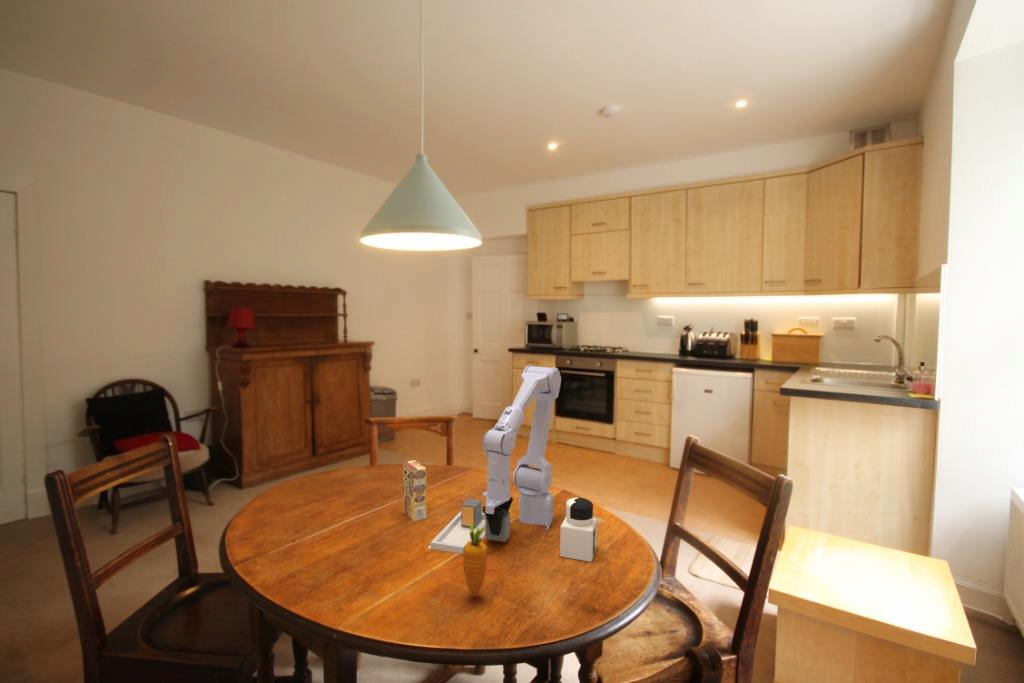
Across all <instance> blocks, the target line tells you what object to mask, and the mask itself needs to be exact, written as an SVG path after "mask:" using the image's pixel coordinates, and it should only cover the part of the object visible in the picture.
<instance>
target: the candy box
mask: <svg viewBox="0 0 1024 683" xmlns="http://www.w3.org/2000/svg"><path fill="white" fill-rule="evenodd" d="M401 464H402V513H403V514H404V516H406V515H407V516H408V517H409V519H410V520H412V521H413V522H416V521H420V520H424V519H427V468H426V467H425V466H424V465H422V464H421V463H419V462H418V461H416V460H408V461H403V462H402V463H401Z"/></svg>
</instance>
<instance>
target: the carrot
mask: <svg viewBox="0 0 1024 683" xmlns="http://www.w3.org/2000/svg"><path fill="white" fill-rule="evenodd" d="M483 530H484V528H483V527H482V528H477V530H476V533H475V535H474V527H473V524H472V525H470V537H471V540H472V541H469V542H468V543H467V544H466V545H465V546H464V548H463V554H462V559H463V560H462V562H463V563H462V564H463V574H464V579H465V582H466V586H467V589H468V591H469V593H470V594H471V596H472V597H473V598H476V597H478V595H479V593H480V591H481V589H482V587H483V585H484V582H485V578H486V573H487V564H488V547H487V545H486V544H485V542H483V541H482V540H483V538H481V537H480V538H479V535H480V533H481V532H482V531H483ZM478 538H479V539H478Z"/></svg>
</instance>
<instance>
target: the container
mask: <svg viewBox="0 0 1024 683" xmlns="http://www.w3.org/2000/svg"><path fill="white" fill-rule="evenodd" d="M565 505H566V506H565V518H564V520H563V521H562V523H561V525H560V539H559V540H560V541H559V543H560V546H559V556H560V557H562V558H565V559H566V558H567V559H573V560H576V561H577V560H578V561H583V562H589V563H591V562H593V559H594V555H595V552H596V549H597V547H598V546H597V542H598V541H597V538H598V536H597V535H598V518H597V517H594V504H593V502H592V501H591V500H589V499H587V498H584V497H572V498H569V499H568V500H566V503H565Z"/></svg>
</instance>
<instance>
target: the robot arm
mask: <svg viewBox="0 0 1024 683" xmlns="http://www.w3.org/2000/svg"><path fill="white" fill-rule="evenodd" d="M520 379H521V385H520V388H519V390H518V392H517V393H516V396H515V397H514V400H513V402H512V404H511V406H506V407H505V409H504V410H503V411H502V414H501V415H500V417H499V419H498V421H496V423H495V425H494V427H493V428H491V429H490V430H488V431H486V432H485V434H484V436H483V441H482V443H481V445H482V449H483V451H484V457H485V458H486V459H487V460H486V462H487V466H486V468H487V469H486V470H487V472H486V473H487V474H486V475H487V476H486V488H487V489H486V491H484V492H482V498H486V499H485V500H486V503H485V505H483V507H482V513H484V514H485V516H486V518H487V520H488V524H489V528H490V532H491V535H497V536H499V534H500V531H501V524H502V519H503V516H504V513H505V511H509V512H510V508H511V504H512V503H513V501H514V498H513V497H512V496H511V454H512V452H513V451H514V450H515V446H516V440H517V434H518V432H519V429H521V428H520V427H521V426H522V424H523V422H524V421H525V418H526V417H525V414H524V412H525V411H526V409H527V408H528V406H529V405H530V403H531V402H532V400H533V399H534V398H535V401H536V402H535V406H534V412H533V417H532V424H531V429H530V434H529V440H528V445H527V451H526V454H525V455H523V456H522V457H520V458H519V459H518V460H517V464H516V467H515V470H514V471H513V473H512V482H513V485H514V486H515V487H516V490H517V492H519V496H518V520H519V521H520V522H521V523H523V524H525V525H537V526H539V525H540V526H546V528H545V529H544V530H545V531H549V529H550V526H551V524H552V523H553V519H554V495H553V493H552V492H548V491H549V490H550V489H551V487H552V482H553V480H552V478H553V476H552V471H553V467H552V465H551V464H550V463H549V462H548V459H546V458H545V455H546V450H547V444H548V439H549V432H550V427H551V422H552V421H551V420H552V416H553V410H554V409H553V408H554V403H555V399H557V398H559V393H560V390H561V383H562V382H561V381H562V376H561V373H560V370H559V368H557V367H554V366H553V367H547V366H546V367H545V366H533V365H526V366H525V367H524V369H523V371H522V373H521V378H520ZM532 466H533V467H532ZM537 467H538V468H537Z"/></svg>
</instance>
